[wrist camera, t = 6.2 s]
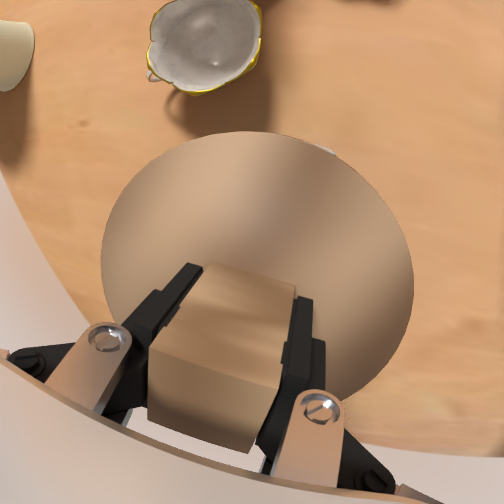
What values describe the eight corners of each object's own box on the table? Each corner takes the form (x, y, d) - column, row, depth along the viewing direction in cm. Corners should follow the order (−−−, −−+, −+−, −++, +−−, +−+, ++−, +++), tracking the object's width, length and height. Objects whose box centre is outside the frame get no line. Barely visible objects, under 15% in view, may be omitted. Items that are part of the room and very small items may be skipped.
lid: (454, 193, 10) (554, 256, 4) (337, 423, 15) (333, 524, 9) (129, 105, 11) (7, 107, 5) (113, 353, 16) (52, 430, 10)
